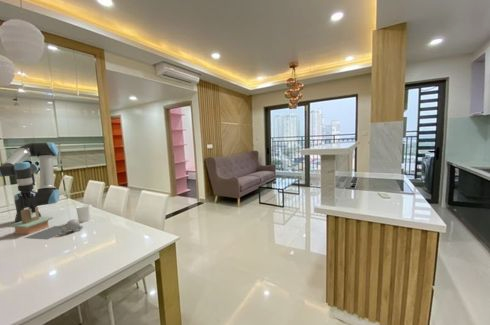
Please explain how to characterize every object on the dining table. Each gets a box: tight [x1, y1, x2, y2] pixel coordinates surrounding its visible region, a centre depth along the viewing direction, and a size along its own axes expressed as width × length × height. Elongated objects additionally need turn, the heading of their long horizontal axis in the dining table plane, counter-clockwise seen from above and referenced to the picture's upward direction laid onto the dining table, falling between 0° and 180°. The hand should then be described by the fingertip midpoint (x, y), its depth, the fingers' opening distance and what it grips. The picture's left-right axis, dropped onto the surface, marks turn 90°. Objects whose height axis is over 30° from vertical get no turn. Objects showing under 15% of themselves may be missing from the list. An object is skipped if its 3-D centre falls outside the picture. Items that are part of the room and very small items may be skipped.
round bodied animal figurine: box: [59, 218, 84, 236], centre depth 144 cm, size 7×12×8 cm, turn 146°
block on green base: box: [7, 206, 54, 228], centre depth 150 cm, size 16×16×10 cm
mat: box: [24, 225, 66, 240], centre depth 145 cm, size 19×19×1 cm
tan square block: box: [14, 220, 49, 235], centre depth 151 cm, size 12×12×6 cm
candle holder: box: [75, 203, 93, 223], centre depth 165 cm, size 10×10×12 cm
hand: (30, 216), depth 150 cm, fingers open, 4 cm apart
